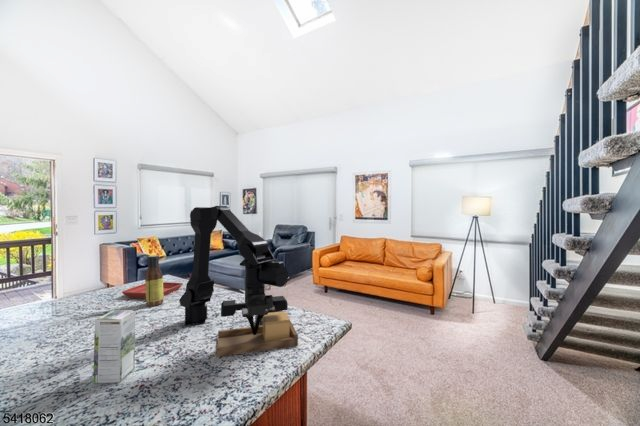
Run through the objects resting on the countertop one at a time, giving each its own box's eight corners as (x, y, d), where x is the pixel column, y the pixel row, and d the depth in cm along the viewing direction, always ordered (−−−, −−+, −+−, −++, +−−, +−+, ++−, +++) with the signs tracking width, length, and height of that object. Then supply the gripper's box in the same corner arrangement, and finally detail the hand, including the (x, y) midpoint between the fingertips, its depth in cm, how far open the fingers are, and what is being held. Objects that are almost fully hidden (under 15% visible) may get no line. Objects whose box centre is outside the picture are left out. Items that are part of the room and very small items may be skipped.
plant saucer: (149, 287, 139) (149, 281, 139) (184, 289, 137) (184, 282, 137) (120, 299, 121) (120, 291, 121) (159, 301, 119) (159, 293, 119)
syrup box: (110, 369, 67) (110, 309, 67) (135, 368, 68) (136, 309, 68) (92, 384, 61) (93, 319, 61) (121, 383, 62) (121, 318, 62)
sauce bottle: (166, 302, 117) (167, 254, 116) (156, 307, 110) (156, 257, 110) (152, 301, 117) (152, 254, 117) (141, 306, 111) (141, 256, 111)
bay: (216, 357, 73) (216, 345, 73) (218, 337, 85) (218, 327, 85) (297, 345, 80) (297, 334, 80) (289, 328, 92) (289, 319, 92)
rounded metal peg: (268, 320, 94) (269, 300, 93) (265, 317, 96) (266, 297, 96) (277, 319, 95) (278, 299, 95) (274, 316, 98) (275, 296, 97)
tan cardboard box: (265, 343, 80) (265, 322, 80) (262, 333, 86) (262, 313, 86) (289, 340, 82) (289, 319, 82) (285, 330, 89) (285, 311, 89)
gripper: (220, 292, 71) (220, 352, 72) (291, 286, 77) (291, 342, 77) (221, 281, 82) (221, 334, 82) (284, 277, 88) (283, 326, 88)
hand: (254, 334), depth 82 cm, fingers closed
